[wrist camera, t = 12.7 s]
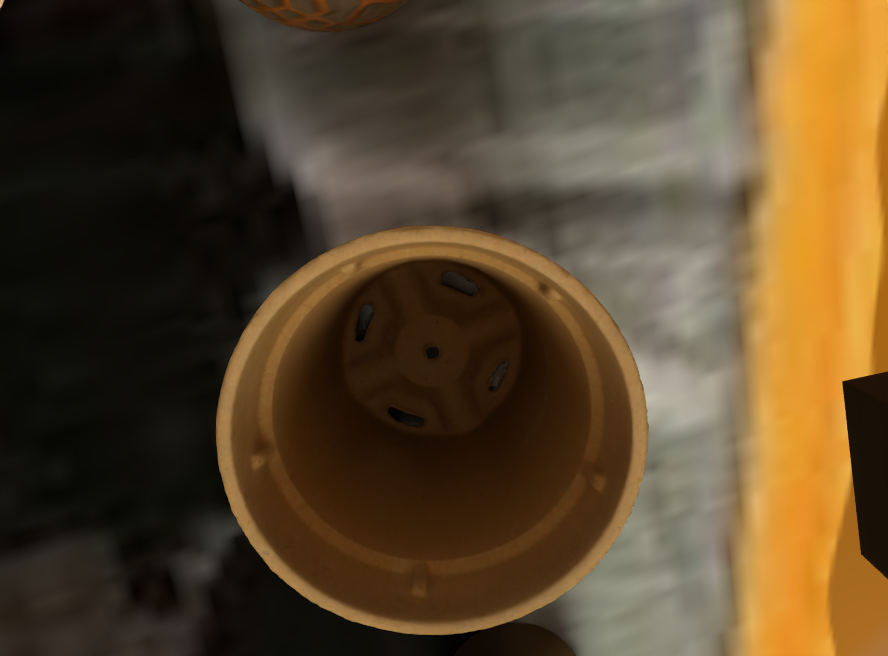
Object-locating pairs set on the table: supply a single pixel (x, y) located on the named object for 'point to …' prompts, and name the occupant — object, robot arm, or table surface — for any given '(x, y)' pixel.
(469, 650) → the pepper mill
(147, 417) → the table surface
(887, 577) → the robot arm
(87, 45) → the table surface
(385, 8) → the vase
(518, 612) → the flower pot
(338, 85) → the table surface
